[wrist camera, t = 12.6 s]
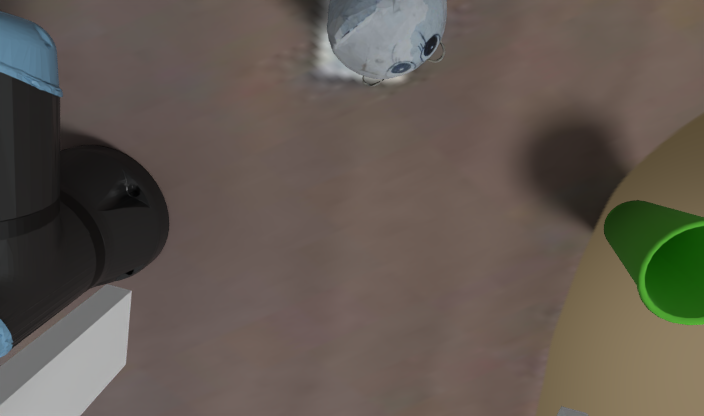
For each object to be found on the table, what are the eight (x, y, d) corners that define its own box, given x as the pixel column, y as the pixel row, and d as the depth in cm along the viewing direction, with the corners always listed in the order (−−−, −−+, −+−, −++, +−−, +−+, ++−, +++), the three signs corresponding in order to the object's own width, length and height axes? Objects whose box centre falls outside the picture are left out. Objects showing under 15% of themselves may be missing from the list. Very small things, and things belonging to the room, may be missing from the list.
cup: (648, 161, 42) (732, 195, 31) (696, 231, 43) (791, 285, 33) (564, 217, 44) (615, 265, 34) (612, 280, 46) (675, 345, 35)
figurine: (364, 96, 42) (348, 115, 28) (321, 4, 40) (280, -26, 26) (460, 49, 40) (495, 43, 26) (421, -52, 38) (436, -118, 24)
